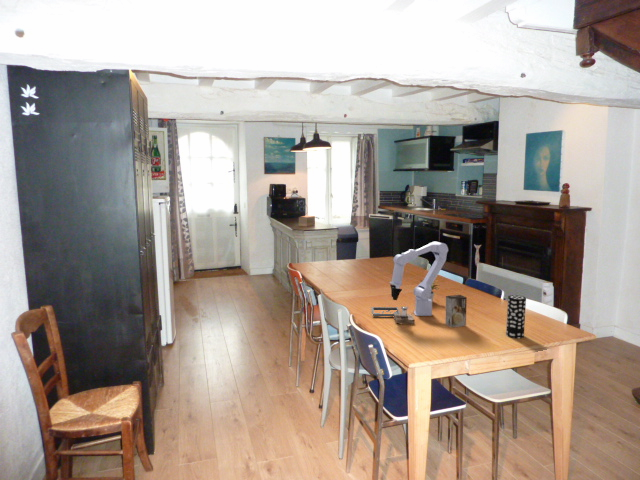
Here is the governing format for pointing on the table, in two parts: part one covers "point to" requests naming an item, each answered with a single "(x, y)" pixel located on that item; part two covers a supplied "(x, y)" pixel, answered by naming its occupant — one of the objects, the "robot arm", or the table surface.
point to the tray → (386, 311)
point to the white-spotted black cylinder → (516, 316)
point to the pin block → (404, 319)
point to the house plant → (432, 291)
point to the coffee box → (456, 310)
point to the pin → (404, 312)
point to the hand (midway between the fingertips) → (394, 298)
